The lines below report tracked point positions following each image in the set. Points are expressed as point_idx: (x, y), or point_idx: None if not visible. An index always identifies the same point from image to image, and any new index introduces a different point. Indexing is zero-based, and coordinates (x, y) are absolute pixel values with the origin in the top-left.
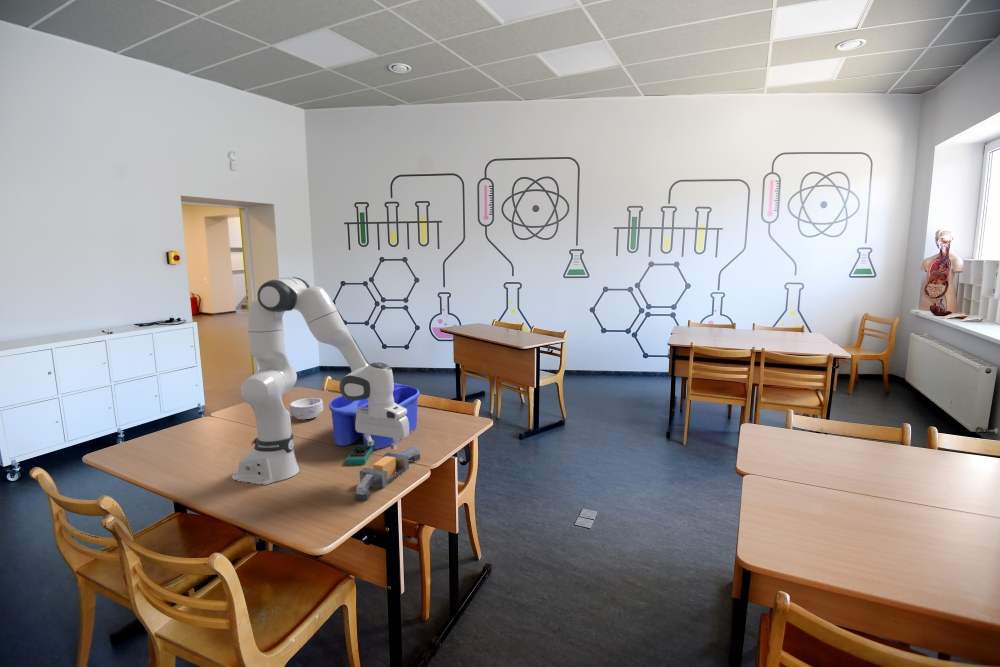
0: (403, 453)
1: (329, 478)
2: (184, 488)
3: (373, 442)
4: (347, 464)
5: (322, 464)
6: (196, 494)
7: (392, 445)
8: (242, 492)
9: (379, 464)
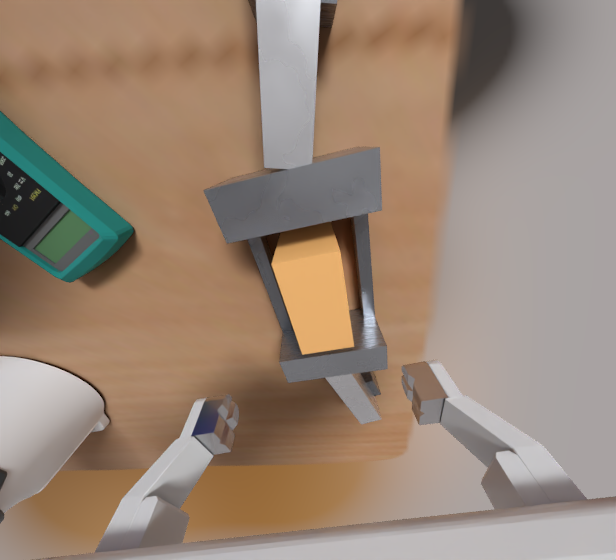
0: (301, 112)
1: (175, 353)
2: None
3: (221, 410)
4: (91, 270)
5: (29, 309)
6: (78, 464)
7: (436, 417)
8: (120, 442)
9: (327, 343)
